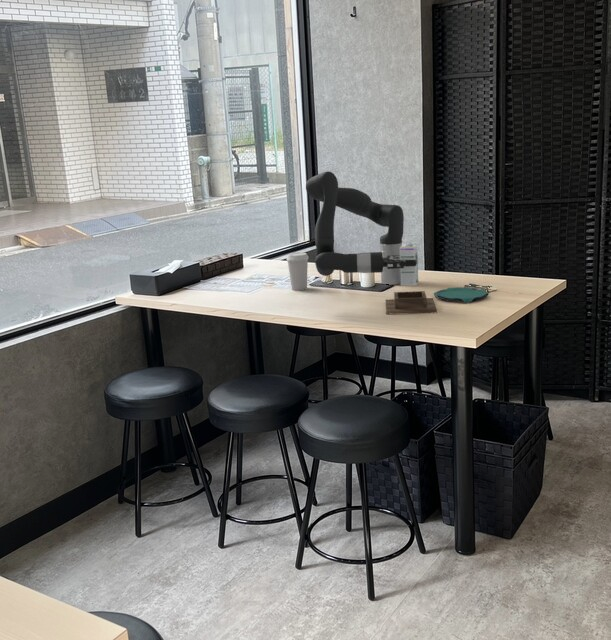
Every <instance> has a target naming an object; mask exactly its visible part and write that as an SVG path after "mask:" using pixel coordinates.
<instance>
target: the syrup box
mask: <svg viewBox="0 0 611 640" xmlns="http://www.w3.org/2000/svg"><path fill="white" fill-rule="evenodd" d="M418 258H419V257H418V244H415V243H407V244H406V243H405V244H402V246H401V247H400V260H405V261H406V260H416V266H406V267H404V268H400V276H401V284H400V286H406V287H407V286H409V287H415V286H417V284H418V283H419V261H418Z"/></svg>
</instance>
